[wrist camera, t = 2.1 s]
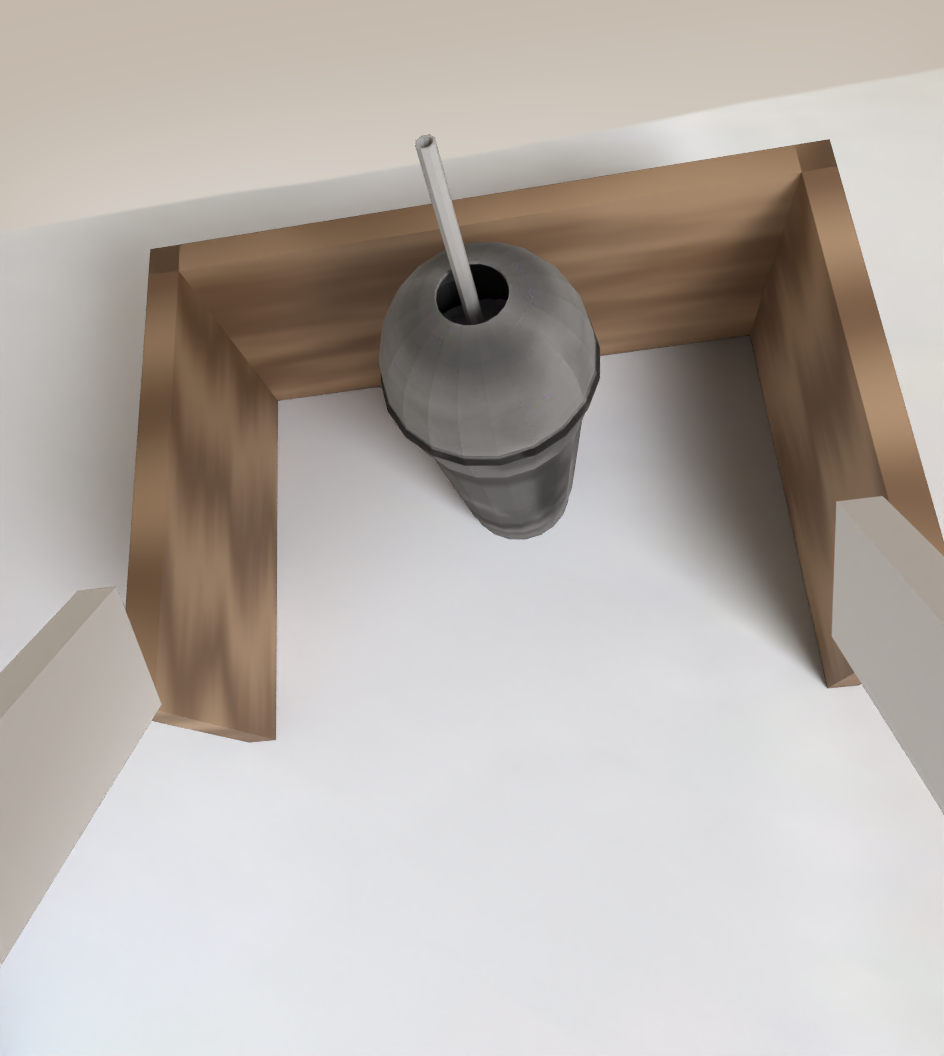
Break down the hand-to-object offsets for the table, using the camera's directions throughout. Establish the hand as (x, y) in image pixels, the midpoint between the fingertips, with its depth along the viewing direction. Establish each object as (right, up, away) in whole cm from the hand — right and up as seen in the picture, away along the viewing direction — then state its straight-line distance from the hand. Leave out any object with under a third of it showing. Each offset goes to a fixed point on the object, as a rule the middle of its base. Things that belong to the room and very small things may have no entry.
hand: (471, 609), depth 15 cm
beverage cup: (+2, +3, +23) cm, 23 cm away
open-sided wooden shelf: (+2, +2, +22) cm, 23 cm away
